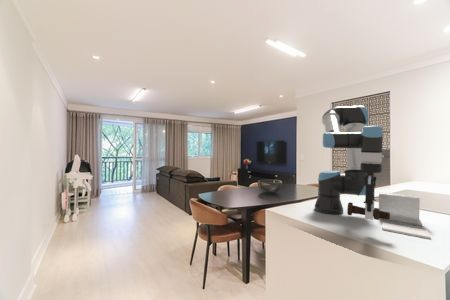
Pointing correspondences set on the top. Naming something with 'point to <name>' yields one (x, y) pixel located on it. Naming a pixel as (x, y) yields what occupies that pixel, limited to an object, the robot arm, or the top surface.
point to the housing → (400, 208)
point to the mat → (406, 230)
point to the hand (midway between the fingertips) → (369, 217)
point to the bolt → (361, 211)
